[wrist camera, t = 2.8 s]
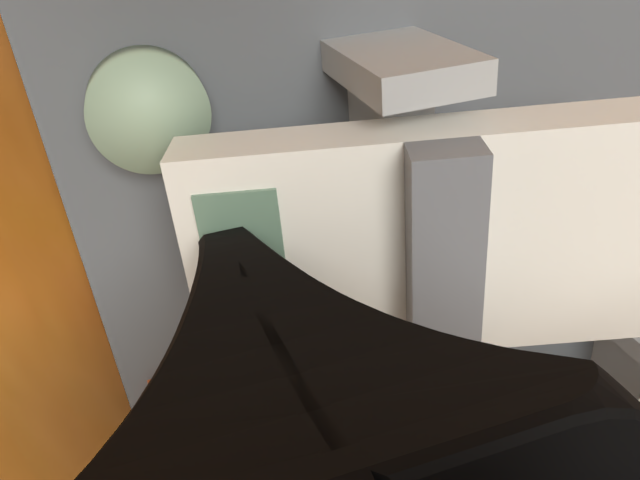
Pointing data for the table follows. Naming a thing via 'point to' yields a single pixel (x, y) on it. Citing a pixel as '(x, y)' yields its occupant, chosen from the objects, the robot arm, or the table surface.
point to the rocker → (440, 214)
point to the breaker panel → (276, 110)
